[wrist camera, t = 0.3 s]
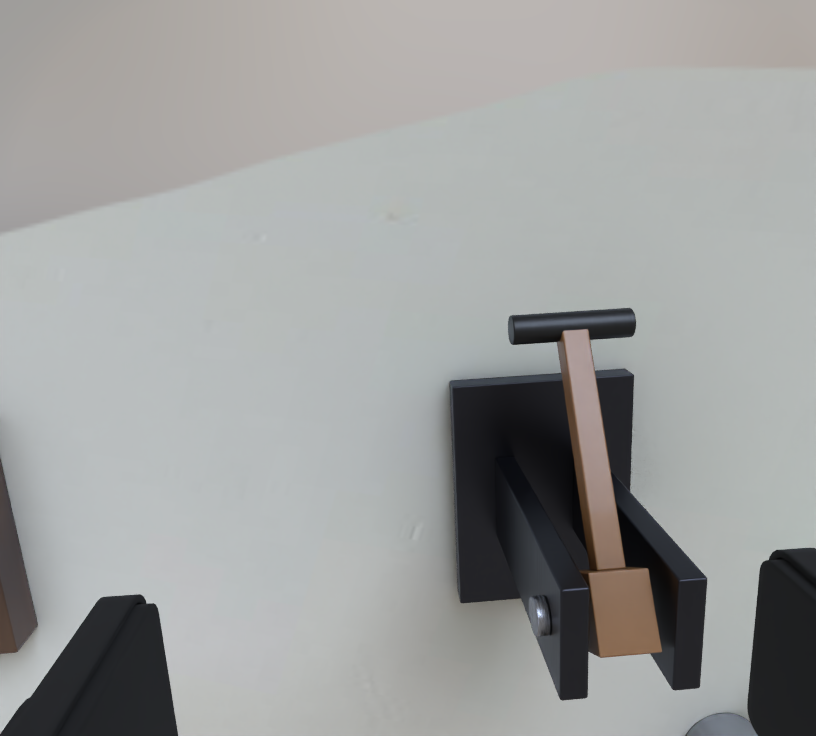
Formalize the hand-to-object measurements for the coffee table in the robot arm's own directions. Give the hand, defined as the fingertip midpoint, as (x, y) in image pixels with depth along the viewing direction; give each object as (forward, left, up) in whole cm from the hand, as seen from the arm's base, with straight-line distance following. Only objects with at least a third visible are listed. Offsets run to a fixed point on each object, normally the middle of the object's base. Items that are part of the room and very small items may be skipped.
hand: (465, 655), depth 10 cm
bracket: (+8, +7, -23) cm, 25 cm away
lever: (+4, +7, -16) cm, 18 cm away
